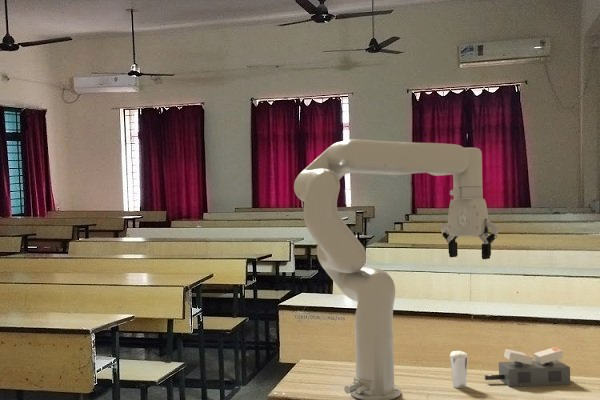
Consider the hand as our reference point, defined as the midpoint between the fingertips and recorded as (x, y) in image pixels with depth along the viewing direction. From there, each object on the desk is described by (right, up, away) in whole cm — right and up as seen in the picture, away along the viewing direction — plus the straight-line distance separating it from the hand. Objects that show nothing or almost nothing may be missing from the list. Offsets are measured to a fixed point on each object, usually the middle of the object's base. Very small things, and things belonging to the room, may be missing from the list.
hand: (469, 257), depth 161 cm
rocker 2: (+20, -25, -3) cm, 32 cm away
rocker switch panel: (+14, -32, -3) cm, 35 cm away
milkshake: (-4, -33, -5) cm, 34 cm away
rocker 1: (+12, -26, -3) cm, 28 cm away
